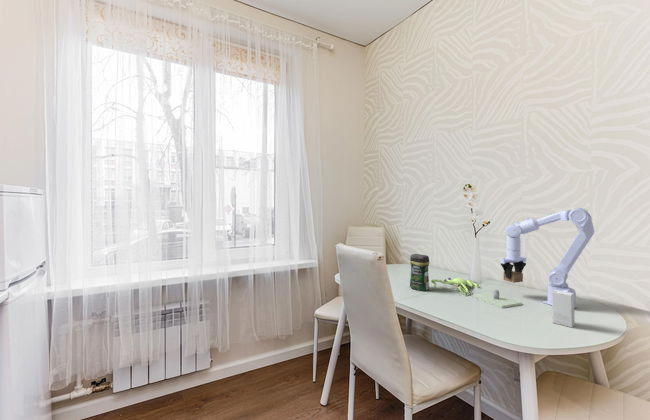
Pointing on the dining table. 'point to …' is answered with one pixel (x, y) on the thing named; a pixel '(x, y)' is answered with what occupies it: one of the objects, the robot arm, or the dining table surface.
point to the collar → (514, 277)
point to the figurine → (458, 282)
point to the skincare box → (563, 308)
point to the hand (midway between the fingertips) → (513, 277)
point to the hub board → (497, 299)
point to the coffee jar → (419, 272)
